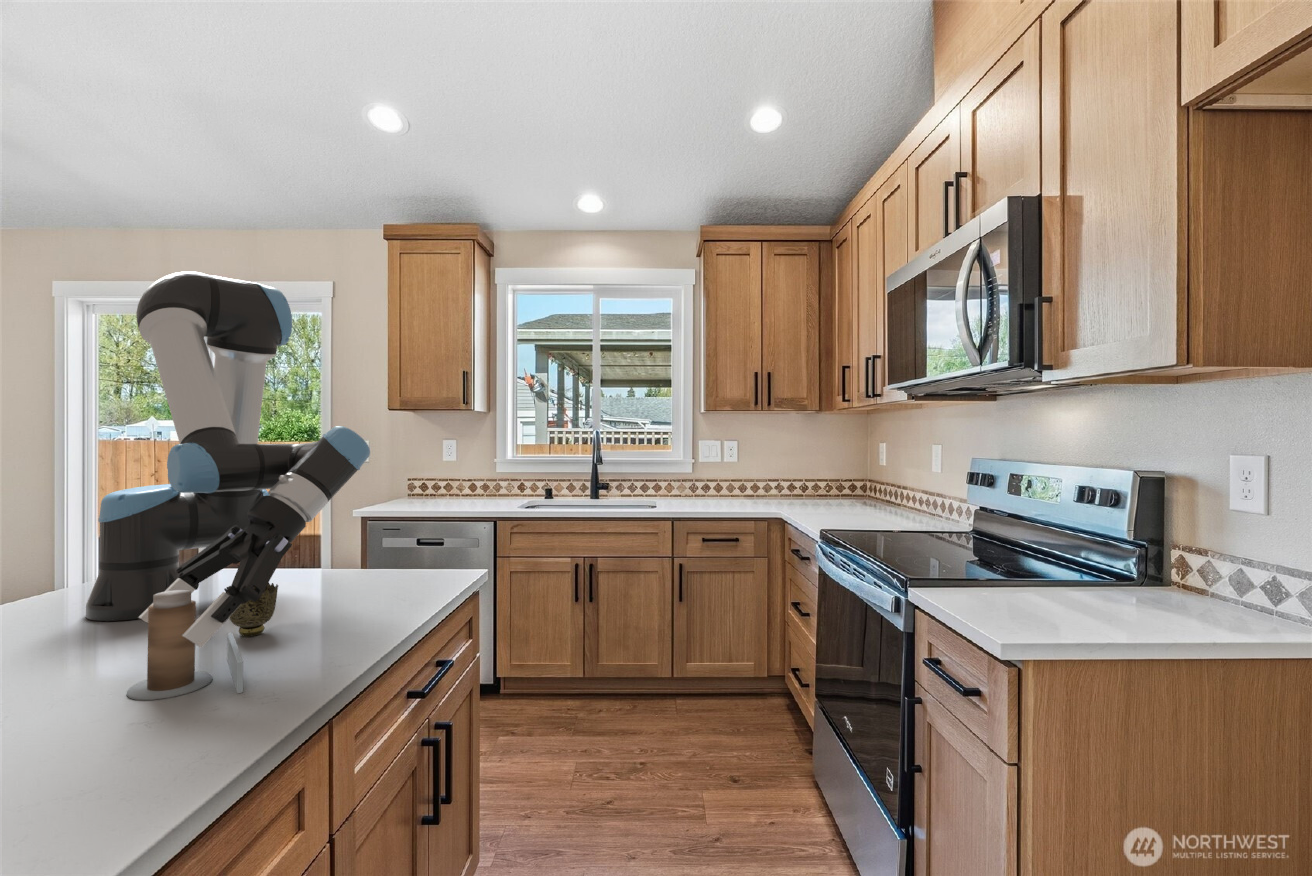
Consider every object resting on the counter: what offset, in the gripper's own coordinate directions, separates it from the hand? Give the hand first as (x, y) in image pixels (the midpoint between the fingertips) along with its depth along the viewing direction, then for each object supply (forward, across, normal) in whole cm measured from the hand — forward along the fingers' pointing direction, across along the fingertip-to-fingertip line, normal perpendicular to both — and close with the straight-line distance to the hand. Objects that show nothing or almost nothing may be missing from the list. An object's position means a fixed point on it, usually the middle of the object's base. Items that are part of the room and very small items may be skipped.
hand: (168, 632), depth 83 cm
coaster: (+5, 0, +5) cm, 7 cm away
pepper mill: (+5, 0, +5) cm, 7 cm away
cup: (-7, -14, +17) cm, 23 cm away
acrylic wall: (0, +3, +10) cm, 10 cm away
